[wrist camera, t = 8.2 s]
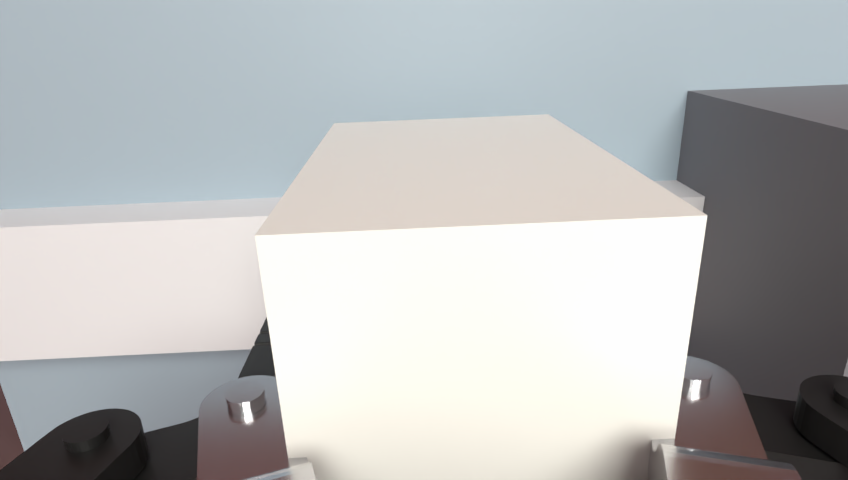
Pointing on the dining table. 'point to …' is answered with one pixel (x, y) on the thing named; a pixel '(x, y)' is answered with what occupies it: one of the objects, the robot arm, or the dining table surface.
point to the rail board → (388, 101)
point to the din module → (477, 303)
